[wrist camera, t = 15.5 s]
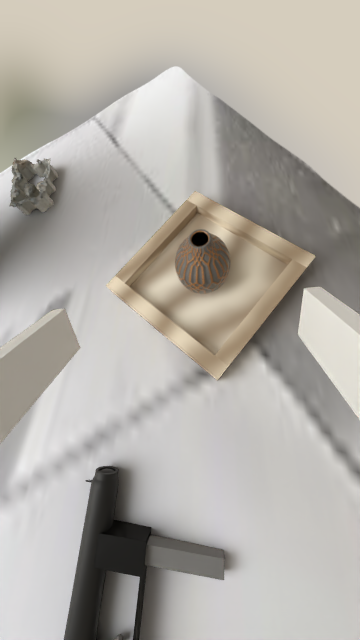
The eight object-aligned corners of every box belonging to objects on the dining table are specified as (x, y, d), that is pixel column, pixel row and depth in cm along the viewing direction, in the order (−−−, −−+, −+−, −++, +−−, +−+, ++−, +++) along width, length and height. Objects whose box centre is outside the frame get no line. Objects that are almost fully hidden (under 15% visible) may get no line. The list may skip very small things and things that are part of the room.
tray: (113, 292, 34) (105, 285, 32) (196, 203, 37) (195, 191, 35) (217, 380, 28) (217, 379, 26) (308, 266, 31) (315, 256, 28)
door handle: (227, 492, 23) (79, 470, 25) (218, 795, 17) (28, 738, 19) (224, 479, 26) (93, 461, 28) (216, 733, 20) (52, 689, 22)
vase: (170, 282, 32) (154, 245, 24) (200, 248, 33) (195, 201, 25) (207, 310, 30) (204, 280, 22) (239, 273, 31) (247, 230, 23)
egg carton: (30, 175, 46) (13, 155, 42) (63, 170, 45) (49, 150, 41) (17, 217, 43) (-2, 200, 39) (53, 213, 42) (36, 195, 38)
